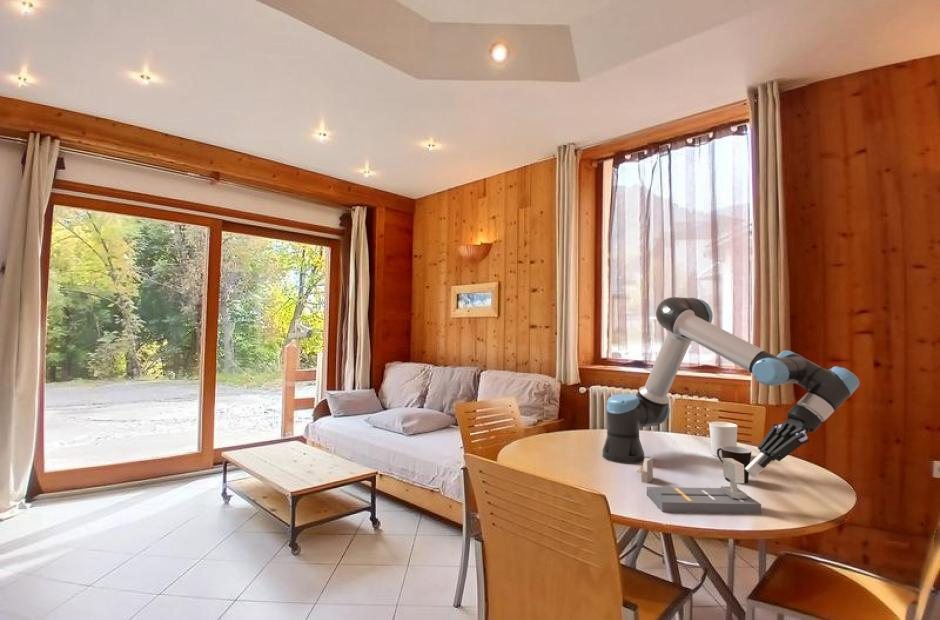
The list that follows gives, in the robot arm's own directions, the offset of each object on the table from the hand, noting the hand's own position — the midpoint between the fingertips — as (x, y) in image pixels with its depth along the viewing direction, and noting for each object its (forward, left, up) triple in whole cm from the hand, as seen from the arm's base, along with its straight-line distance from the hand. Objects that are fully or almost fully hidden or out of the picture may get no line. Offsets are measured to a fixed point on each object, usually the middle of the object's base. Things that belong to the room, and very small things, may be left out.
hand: (749, 472), depth 129 cm
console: (-12, -6, -9) cm, 16 cm away
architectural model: (-29, +7, -10) cm, 31 cm away
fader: (-4, -2, -6) cm, 7 cm away
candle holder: (-10, +54, -9) cm, 55 cm away
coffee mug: (-5, +24, -9) cm, 26 cm away
